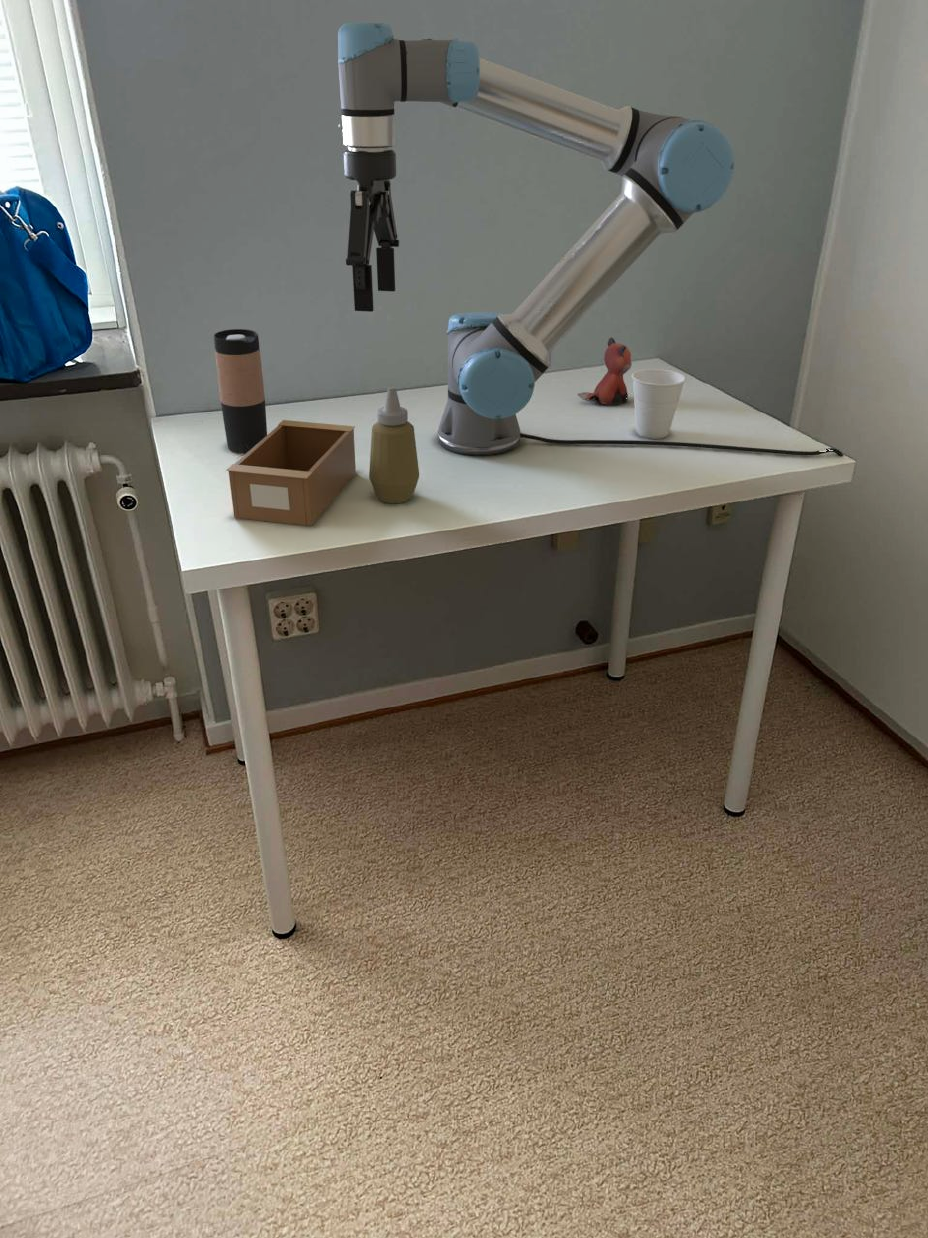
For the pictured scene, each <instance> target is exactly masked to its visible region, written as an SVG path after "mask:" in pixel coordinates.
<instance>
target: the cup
mask: <svg viewBox="0 0 928 1238" xmlns="http://www.w3.org/2000/svg"><path fill="white" fill-rule="evenodd" d="M631 379H632V387H633V401H634V402H633V404H634V419H635V421H634V422H635V423H634V425H635V432H636V433H637V435H638V436H639V437H642V438H645V439H650V440H651V439H652V440H659V439H663V438H666V437H667V436H668V435H669V434H670V431H671V427H672V425H673V420H674V417H675V413H676V410H677V408H678V404H679V400H680V397H681V395H682V391H683V387H684V385H685V383H686V382H687V378H686V376H685V375H684V374H682V373H680V372H678V371H674V370H670V369H663V368H645V369H639V370H636V371H634V372H633V373H631Z"/></svg>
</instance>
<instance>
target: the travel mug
mask: <svg viewBox="0 0 928 1238" xmlns="http://www.w3.org/2000/svg"><path fill="white" fill-rule="evenodd" d="M213 344H214V353H215V361H216V370H217V371H216V372H217V381H218V391H219V399H220V406H221V407H220V408H221V412H222V419H223V425H224V431H225V432H224V433H225V438H226V439H225V440H226V445H227V448H228V450H229V451H230V452H232V453H236V454H237V453H238V454H246V453H247V452H249V451H250V450H251V449H252V448H253V447H254V446H255V445H257V444H258V443H259V442H260V441H261V440H262V439H263V438H265V437H266V436H267V435H268V427H267V411H266V410H267V409H266V395H265V385H264V378H263V377H264V376H263V368H262V357H261V349H260V338H259V334H258V332H257V331H255V330H251V329H245V328H233V329H225V330H221V331H220V330H219V331H218V332H216V333H214V334H213Z"/></svg>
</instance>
